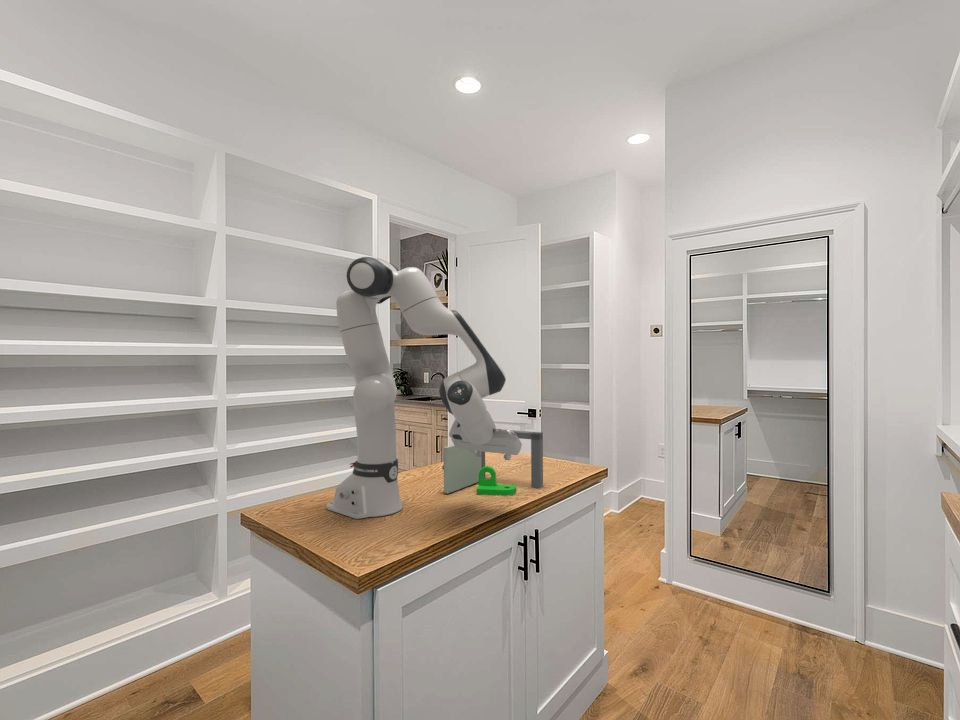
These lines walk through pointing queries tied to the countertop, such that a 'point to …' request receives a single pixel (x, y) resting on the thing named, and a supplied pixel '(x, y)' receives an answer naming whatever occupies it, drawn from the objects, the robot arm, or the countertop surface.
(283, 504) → the countertop surface
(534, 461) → the wall frame
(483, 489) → the mechanical part
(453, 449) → the door
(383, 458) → the robot arm
